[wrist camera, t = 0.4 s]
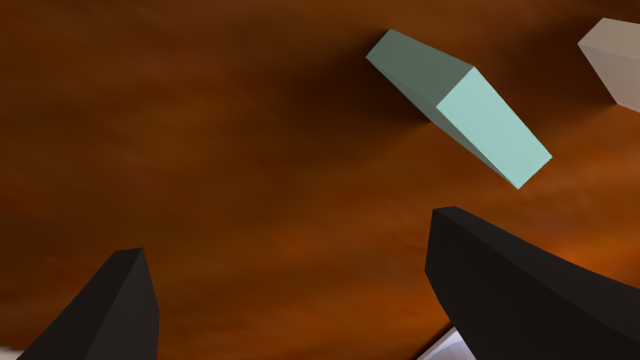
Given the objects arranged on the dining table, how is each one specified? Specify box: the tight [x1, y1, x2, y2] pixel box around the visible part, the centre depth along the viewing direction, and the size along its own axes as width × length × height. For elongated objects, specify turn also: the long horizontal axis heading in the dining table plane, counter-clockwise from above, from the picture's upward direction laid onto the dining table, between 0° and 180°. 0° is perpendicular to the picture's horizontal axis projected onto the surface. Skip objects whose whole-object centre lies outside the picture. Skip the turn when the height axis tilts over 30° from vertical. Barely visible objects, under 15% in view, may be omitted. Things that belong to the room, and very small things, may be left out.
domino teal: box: [366, 29, 552, 189], centre depth 17 cm, size 5×2×7 cm, turn 47°
